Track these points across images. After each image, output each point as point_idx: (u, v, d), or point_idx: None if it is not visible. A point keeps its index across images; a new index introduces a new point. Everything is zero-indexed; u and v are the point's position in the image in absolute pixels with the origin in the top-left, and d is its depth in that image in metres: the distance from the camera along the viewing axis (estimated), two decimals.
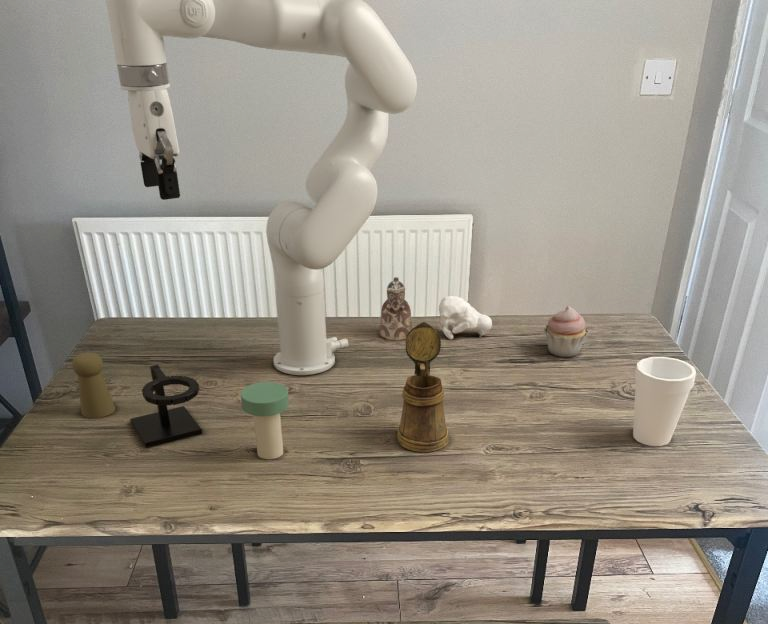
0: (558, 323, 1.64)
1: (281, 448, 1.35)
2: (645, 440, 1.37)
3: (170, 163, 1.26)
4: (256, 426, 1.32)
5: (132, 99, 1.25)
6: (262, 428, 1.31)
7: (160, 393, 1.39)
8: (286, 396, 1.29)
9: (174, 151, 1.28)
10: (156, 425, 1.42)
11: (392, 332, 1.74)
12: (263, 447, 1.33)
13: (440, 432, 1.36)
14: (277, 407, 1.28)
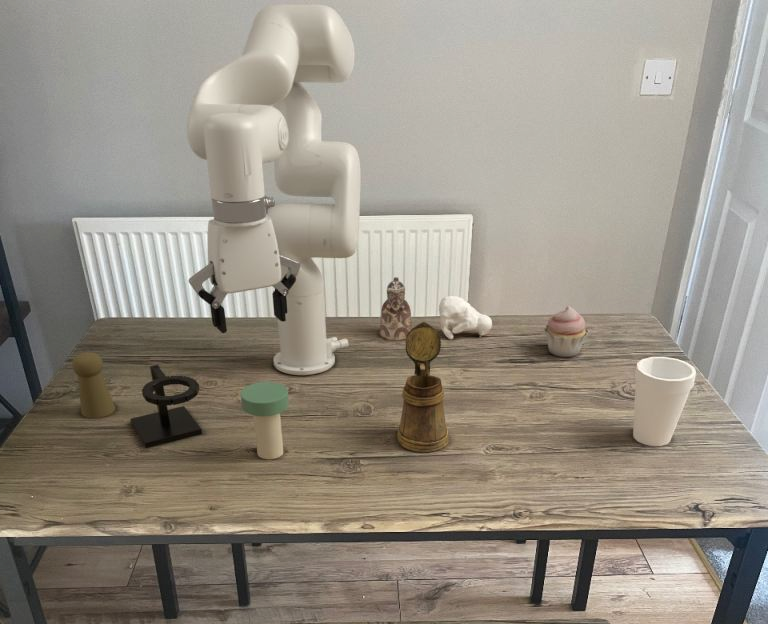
0: (558, 323, 1.64)
1: (281, 448, 1.35)
2: (645, 440, 1.37)
3: None
4: (256, 426, 1.32)
5: (252, 234, 1.15)
6: (262, 428, 1.31)
7: (160, 393, 1.39)
8: (286, 396, 1.29)
9: None
10: (156, 425, 1.42)
11: (392, 332, 1.74)
12: (263, 447, 1.33)
13: (440, 432, 1.36)
14: (277, 407, 1.28)
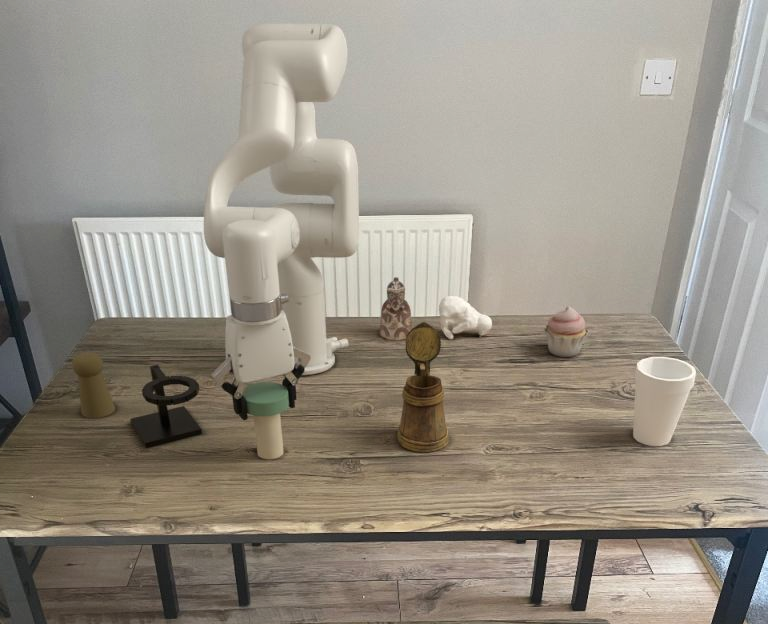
0: (558, 323, 1.64)
1: (281, 448, 1.35)
2: (645, 440, 1.37)
3: None
4: (256, 426, 1.32)
5: (267, 329, 1.21)
6: (262, 428, 1.31)
7: (160, 393, 1.39)
8: (286, 396, 1.29)
9: None
10: (156, 425, 1.42)
11: (392, 332, 1.74)
12: (263, 447, 1.33)
13: (440, 432, 1.36)
14: (277, 407, 1.28)
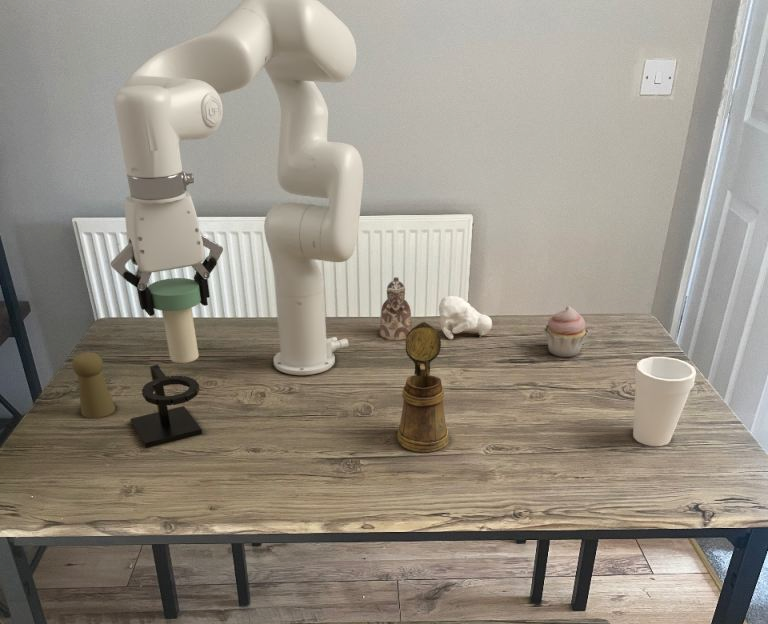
0: (558, 323, 1.64)
1: (195, 351, 1.25)
2: (645, 440, 1.37)
3: None
4: (166, 325, 1.22)
5: (170, 211, 1.12)
6: (171, 326, 1.21)
7: (160, 393, 1.39)
8: (196, 290, 1.19)
9: None
10: (156, 425, 1.42)
11: (392, 332, 1.74)
12: (174, 349, 1.24)
13: (440, 432, 1.36)
14: (186, 301, 1.18)
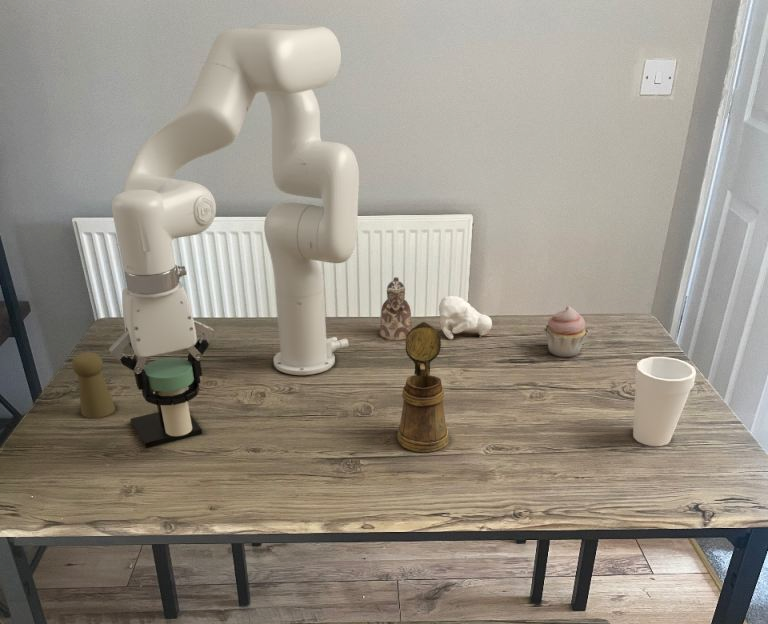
0: (558, 323, 1.64)
1: (189, 425, 1.33)
2: (645, 440, 1.37)
3: None
4: None
5: (164, 302, 1.20)
6: None
7: None
8: (189, 371, 1.27)
9: None
10: (156, 425, 1.42)
11: (392, 332, 1.74)
12: (169, 424, 1.32)
13: (440, 432, 1.36)
14: (179, 383, 1.26)
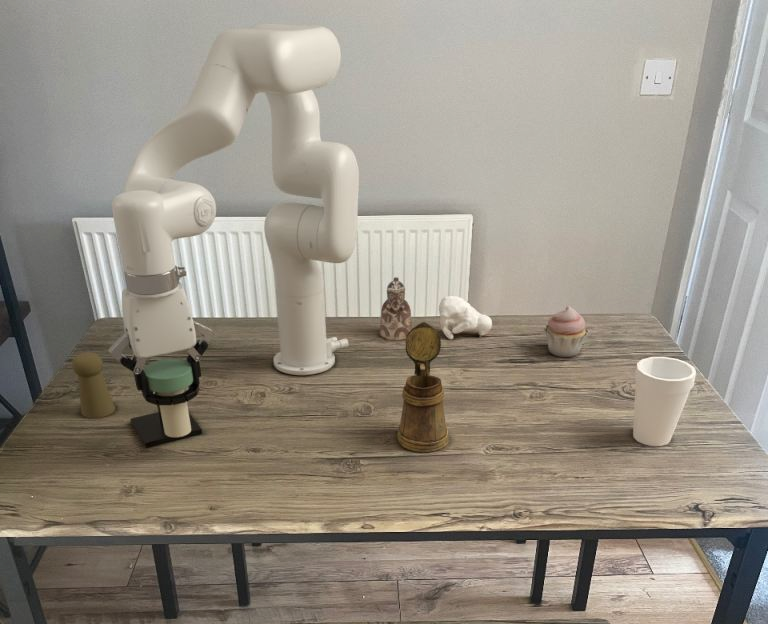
0: (558, 323, 1.64)
1: (188, 426, 1.33)
2: (645, 440, 1.37)
3: None
4: None
5: (164, 303, 1.20)
6: (165, 405, 1.29)
7: None
8: (188, 372, 1.27)
9: None
10: (156, 425, 1.42)
11: (392, 332, 1.74)
12: (168, 425, 1.31)
13: (440, 432, 1.36)
14: (178, 383, 1.26)
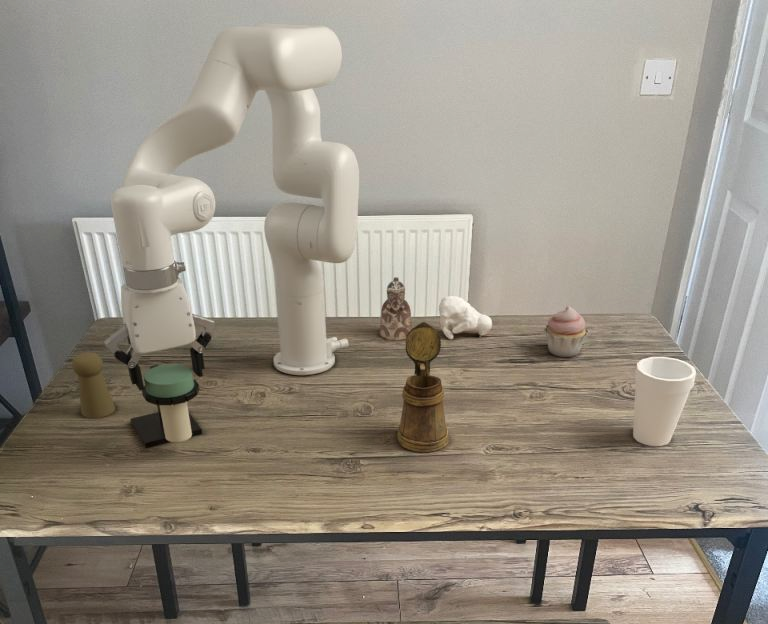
0: (558, 323, 1.64)
1: (188, 431, 1.34)
2: (645, 440, 1.37)
3: None
4: (161, 408, 1.30)
5: (163, 298, 1.19)
6: (166, 410, 1.30)
7: None
8: (189, 378, 1.28)
9: None
10: (156, 425, 1.42)
11: (392, 332, 1.74)
12: (169, 430, 1.32)
13: (440, 432, 1.36)
14: (179, 389, 1.27)
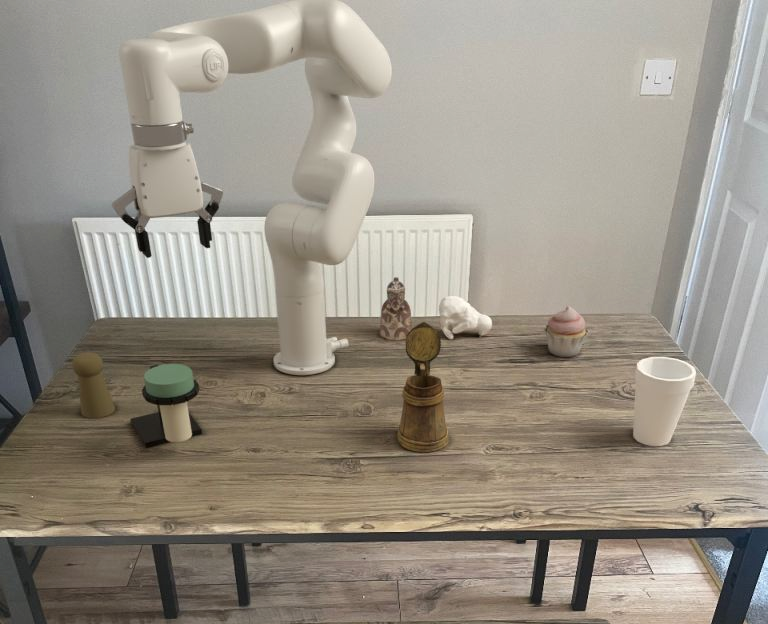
0: (558, 323, 1.64)
1: (188, 431, 1.34)
2: (645, 440, 1.37)
3: None
4: (161, 408, 1.30)
5: (171, 158, 1.19)
6: (166, 410, 1.30)
7: None
8: (189, 378, 1.28)
9: None
10: (156, 425, 1.42)
11: (392, 332, 1.74)
12: (169, 430, 1.32)
13: (440, 432, 1.36)
14: (179, 389, 1.27)
